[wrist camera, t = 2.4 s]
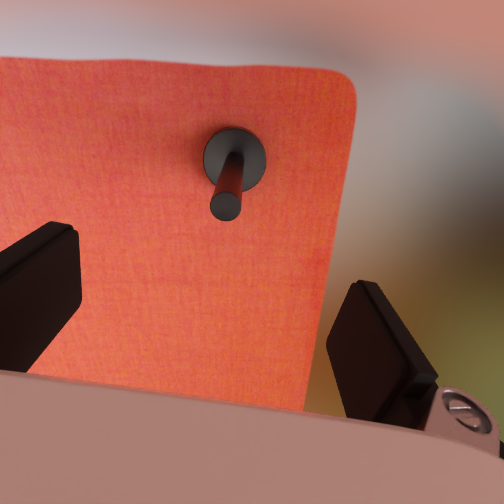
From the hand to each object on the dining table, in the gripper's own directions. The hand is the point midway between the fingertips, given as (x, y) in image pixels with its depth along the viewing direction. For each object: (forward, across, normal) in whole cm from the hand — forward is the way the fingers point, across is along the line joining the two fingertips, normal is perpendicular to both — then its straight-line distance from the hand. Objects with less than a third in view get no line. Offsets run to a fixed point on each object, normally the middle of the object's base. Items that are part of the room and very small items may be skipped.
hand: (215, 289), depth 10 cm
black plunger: (+22, 0, 0) cm, 22 cm away
